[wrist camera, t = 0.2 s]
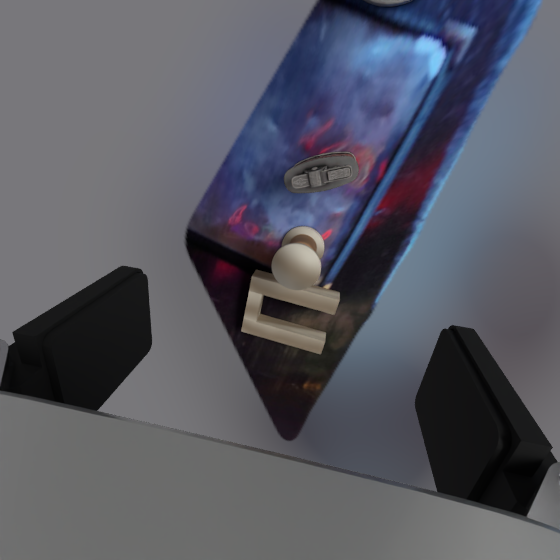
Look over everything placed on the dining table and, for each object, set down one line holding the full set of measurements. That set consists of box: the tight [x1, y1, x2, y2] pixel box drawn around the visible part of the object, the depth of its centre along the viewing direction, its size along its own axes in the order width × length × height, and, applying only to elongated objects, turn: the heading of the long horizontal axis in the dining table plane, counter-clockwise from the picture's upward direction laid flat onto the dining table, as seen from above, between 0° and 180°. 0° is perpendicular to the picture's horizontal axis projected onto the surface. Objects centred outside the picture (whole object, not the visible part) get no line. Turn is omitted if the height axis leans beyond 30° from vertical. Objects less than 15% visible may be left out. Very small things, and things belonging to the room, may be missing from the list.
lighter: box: [284, 152, 359, 193], centre depth 37 cm, size 8×3×10 cm, turn 103°
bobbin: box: [272, 226, 324, 290], centre depth 43 cm, size 6×6×8 cm
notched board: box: [241, 270, 340, 354], centre depth 50 cm, size 10×13×2 cm
